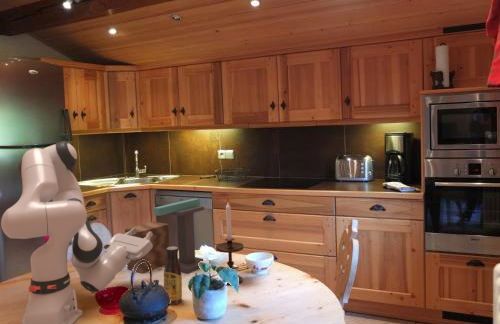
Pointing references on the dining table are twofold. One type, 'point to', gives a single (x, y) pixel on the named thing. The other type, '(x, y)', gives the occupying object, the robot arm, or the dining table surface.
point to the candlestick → (230, 241)
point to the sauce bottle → (173, 276)
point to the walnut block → (159, 242)
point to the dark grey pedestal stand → (187, 239)
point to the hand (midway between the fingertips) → (143, 231)
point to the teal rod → (176, 206)
